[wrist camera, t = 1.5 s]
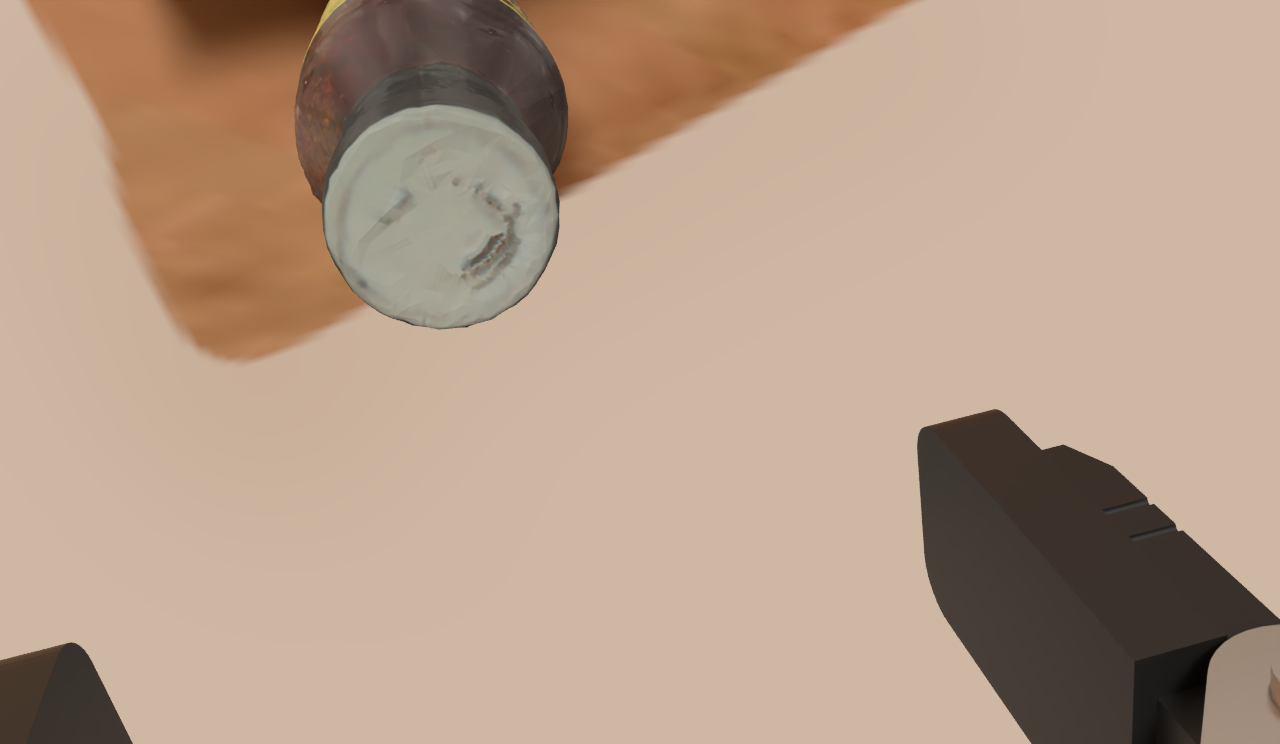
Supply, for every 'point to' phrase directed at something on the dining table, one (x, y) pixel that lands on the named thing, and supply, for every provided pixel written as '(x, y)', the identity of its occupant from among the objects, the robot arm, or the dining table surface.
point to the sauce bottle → (433, 153)
